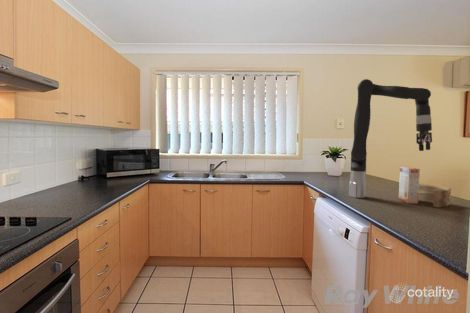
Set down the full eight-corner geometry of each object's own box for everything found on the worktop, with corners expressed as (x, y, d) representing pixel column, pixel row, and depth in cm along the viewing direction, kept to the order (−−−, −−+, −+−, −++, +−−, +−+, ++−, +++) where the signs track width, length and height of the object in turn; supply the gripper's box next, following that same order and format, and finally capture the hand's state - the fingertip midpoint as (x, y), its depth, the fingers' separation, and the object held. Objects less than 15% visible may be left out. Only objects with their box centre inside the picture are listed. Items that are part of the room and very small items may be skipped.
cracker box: (418, 204, 160) (420, 168, 158) (407, 203, 161) (408, 168, 160) (408, 198, 174) (410, 166, 172) (398, 198, 175) (399, 166, 173)
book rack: (437, 207, 153) (438, 189, 153) (403, 199, 173) (404, 183, 172) (449, 205, 157) (450, 188, 156) (414, 197, 176) (415, 182, 176)
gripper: (422, 123, 169) (423, 149, 170) (410, 123, 162) (412, 151, 162) (436, 122, 163) (437, 149, 164) (425, 122, 155) (426, 151, 156)
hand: (424, 150), depth 163 cm, fingers open, 8 cm apart
